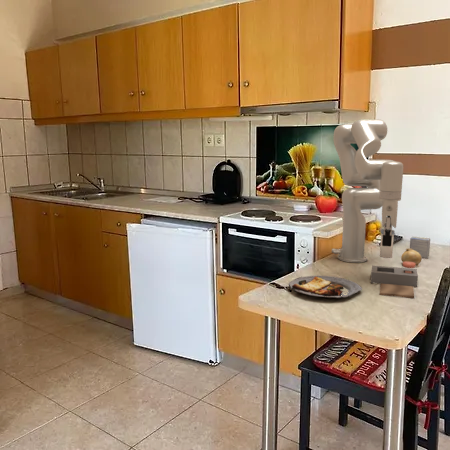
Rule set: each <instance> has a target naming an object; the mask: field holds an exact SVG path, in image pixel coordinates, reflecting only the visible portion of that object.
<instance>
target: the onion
mask: <svg viewBox="0 0 450 450" xmlns="http://www.w3.org/2000/svg"><path fill="white" fill-rule="evenodd" d="M400 259H401V262H402V263H403V262H405V261H409V262H414V263H416V264H415V267H416V266H418V265H419V264H420V263H421V262H422V259H423V258H421V255H420V254H419V253H418V252H417V251H415V250H413V249H410V247H409V248H405V251H403V253H402V254H401V257H400Z"/></svg>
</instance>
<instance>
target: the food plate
mask: <svg viewBox="0 0 450 450" xmlns="http://www.w3.org/2000/svg"><path fill="white" fill-rule="evenodd" d="M288 287H289V288H290V290H293V291H294V292H297V293H300V294H304V295H307V296H309V297H318V298H326V299H330V298H331V299H340V298H343V299H345V298H348V297H352V296H353V295H355V294H356V293H359V292H360V291H363V287H362V286H360V284H358V283H357V282H355V281H352V280H350V279H347V278H343V277H339V276H330V275H329V276H328V275H306V276H299V277H297V278H295V279H293V280H291V281H289V283H288ZM344 289H345V290H346V291H345V290H344ZM347 291H348V292H347ZM345 292H346V293H347V295H344V294H346V293H345ZM343 293H344V294H343ZM341 295H342V296H341Z"/></svg>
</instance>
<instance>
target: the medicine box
mask: <svg viewBox="0 0 450 450" xmlns="http://www.w3.org/2000/svg"><path fill="white" fill-rule="evenodd" d="M409 239H410V240H409V249H413V250H415V251H417V252H418V253H419V254H420V255H421V258H422V259H428V258H429V257H430V252H431V251H430V248H431V247H430V246H431V238H430V237H425V236H424V237H421V236H411V237H410V238H409Z"/></svg>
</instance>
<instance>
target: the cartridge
mask: <svg viewBox="0 0 450 450" xmlns="http://www.w3.org/2000/svg"><path fill="white" fill-rule="evenodd" d="M385 230H386V229H385ZM380 233H381V234H380V245H379V257H380V258H382V259H392V258H393V251H394V250H393V249H394V238H395V237H394V235H395V230H394V229H392V234H391V236H392V243H391V246H382V239H383V235H384V228H383V229H381V230H380Z"/></svg>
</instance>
